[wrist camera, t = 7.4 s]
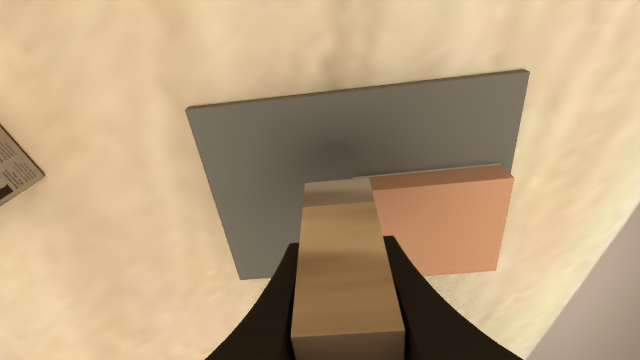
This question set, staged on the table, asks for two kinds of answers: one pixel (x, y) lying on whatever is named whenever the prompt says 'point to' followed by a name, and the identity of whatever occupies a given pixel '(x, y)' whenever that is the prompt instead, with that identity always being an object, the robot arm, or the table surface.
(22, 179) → the coffee box
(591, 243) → the table surface
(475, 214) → the tile
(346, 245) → the wooden block
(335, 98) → the mat
